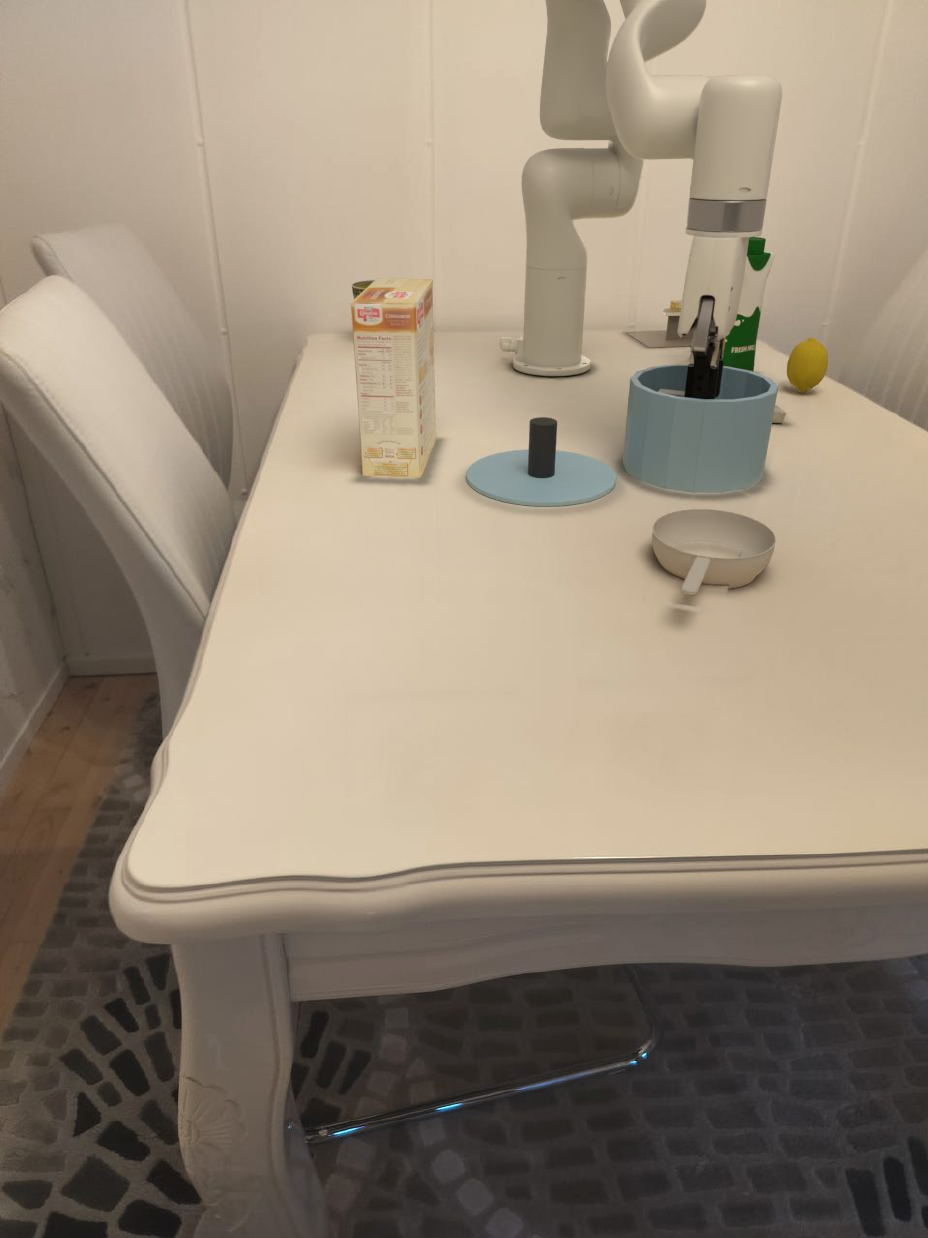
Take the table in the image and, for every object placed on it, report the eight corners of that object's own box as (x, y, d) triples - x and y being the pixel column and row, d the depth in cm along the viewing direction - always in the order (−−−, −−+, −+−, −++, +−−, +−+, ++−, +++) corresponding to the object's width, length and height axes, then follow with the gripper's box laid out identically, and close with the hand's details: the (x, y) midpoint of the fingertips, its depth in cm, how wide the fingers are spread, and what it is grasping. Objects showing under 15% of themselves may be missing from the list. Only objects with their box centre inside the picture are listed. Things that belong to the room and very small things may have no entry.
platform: (627, 333, 167) (630, 296, 164) (717, 329, 170) (722, 293, 166) (648, 347, 157) (652, 308, 154) (744, 343, 159) (750, 305, 156)
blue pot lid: (442, 497, 96) (441, 434, 92) (498, 450, 109) (499, 393, 106) (592, 521, 90) (597, 454, 87) (631, 468, 104) (637, 409, 100)
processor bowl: (608, 485, 99) (616, 391, 94) (640, 443, 111) (648, 358, 106) (752, 505, 94) (768, 408, 88) (768, 459, 106) (784, 371, 101)
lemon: (824, 398, 129) (835, 342, 125) (784, 396, 130) (794, 340, 126) (819, 388, 133) (829, 334, 129) (780, 386, 134) (790, 332, 130)
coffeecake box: (383, 438, 113) (375, 276, 104) (438, 440, 113) (435, 277, 103) (359, 480, 100) (347, 300, 91) (421, 482, 100) (416, 301, 90)
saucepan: (775, 553, 84) (782, 515, 82) (751, 645, 69) (759, 602, 67) (661, 535, 87) (666, 499, 85) (616, 619, 73) (620, 578, 71)
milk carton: (723, 381, 137) (743, 242, 127) (681, 369, 144) (697, 235, 134) (762, 373, 141) (784, 237, 131) (719, 362, 148) (737, 231, 138)
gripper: (701, 210, 97) (681, 379, 106) (671, 224, 84) (651, 415, 93) (772, 212, 94) (746, 385, 103) (753, 227, 81) (724, 423, 91)
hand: (701, 398), depth 98 cm, fingers closed on blade, 2 cm apart
